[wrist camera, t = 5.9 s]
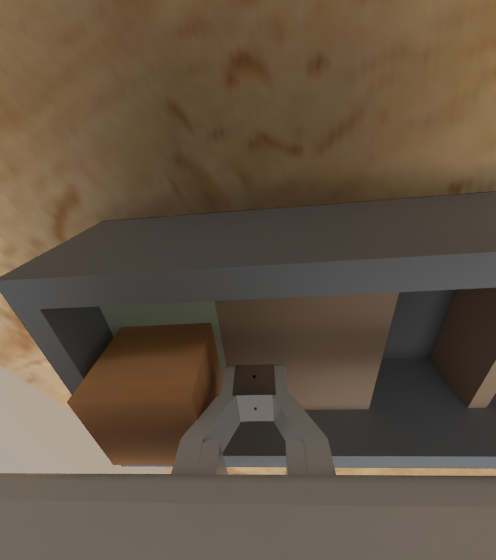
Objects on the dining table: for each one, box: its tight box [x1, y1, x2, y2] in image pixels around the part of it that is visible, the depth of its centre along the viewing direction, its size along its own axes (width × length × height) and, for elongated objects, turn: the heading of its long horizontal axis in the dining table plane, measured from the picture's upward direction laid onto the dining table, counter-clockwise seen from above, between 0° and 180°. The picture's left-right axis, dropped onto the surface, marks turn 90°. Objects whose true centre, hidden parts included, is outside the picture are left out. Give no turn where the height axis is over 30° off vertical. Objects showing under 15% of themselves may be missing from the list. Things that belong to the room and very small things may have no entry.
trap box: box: [0, 192, 496, 469], centre depth 13 cm, size 12×27×6 cm, turn 95°
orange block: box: [67, 323, 223, 465], centre depth 11 cm, size 4×4×4 cm
